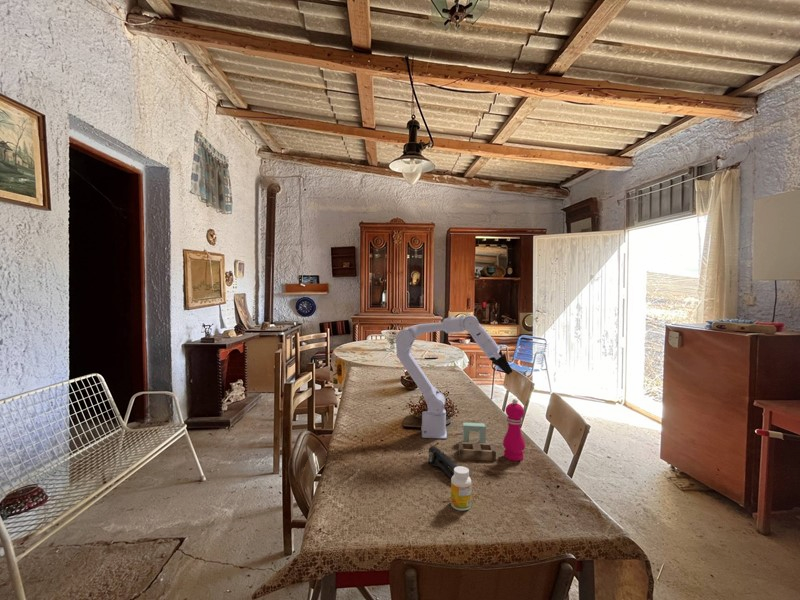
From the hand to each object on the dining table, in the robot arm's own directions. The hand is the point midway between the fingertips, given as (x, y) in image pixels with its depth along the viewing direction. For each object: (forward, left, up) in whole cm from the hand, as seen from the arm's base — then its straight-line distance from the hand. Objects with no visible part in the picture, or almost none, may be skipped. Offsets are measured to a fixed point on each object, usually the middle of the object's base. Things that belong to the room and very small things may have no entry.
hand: (508, 371), depth 140 cm
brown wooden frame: (-13, -14, -26) cm, 32 cm away
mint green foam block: (-13, -4, -26) cm, 30 cm away
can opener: (-23, -26, -27) cm, 44 cm away
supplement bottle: (-20, -44, -27) cm, 55 cm away
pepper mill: (0, -13, -27) cm, 30 cm away
